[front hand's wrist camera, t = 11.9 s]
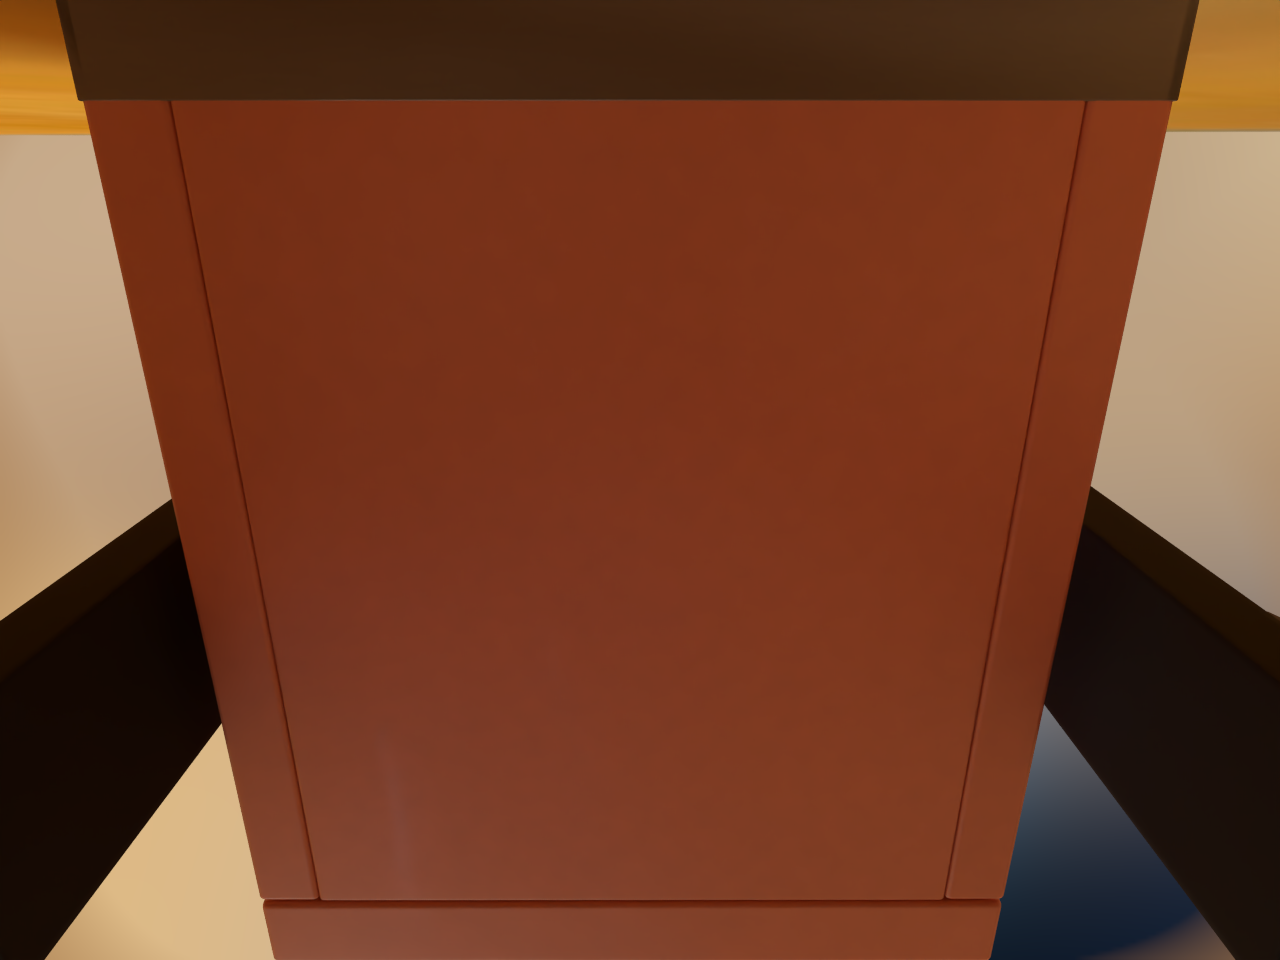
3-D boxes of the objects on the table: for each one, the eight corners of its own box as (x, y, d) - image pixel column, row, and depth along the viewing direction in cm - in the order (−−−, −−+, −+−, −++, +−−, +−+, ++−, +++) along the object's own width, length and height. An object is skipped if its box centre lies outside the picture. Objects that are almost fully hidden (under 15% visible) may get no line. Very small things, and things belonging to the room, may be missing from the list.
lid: (797, 485, 25) (779, 733, 28) (474, 485, 25) (493, 733, 28) (1004, 903, 11) (918, 1302, 14) (259, 905, 11) (349, 1303, 14)
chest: (834, 99, 20) (803, 495, 24) (435, 99, 20) (467, 495, 24) (1205, -21, 7) (1005, 902, 11) (50, -21, 7) (258, 902, 11)
